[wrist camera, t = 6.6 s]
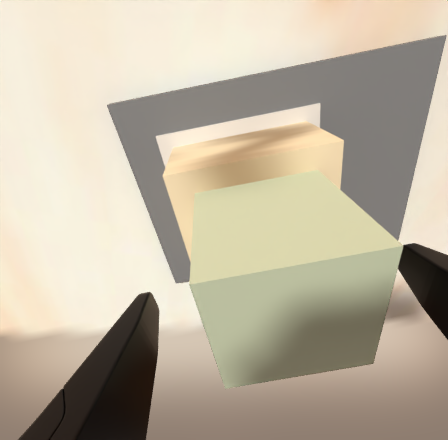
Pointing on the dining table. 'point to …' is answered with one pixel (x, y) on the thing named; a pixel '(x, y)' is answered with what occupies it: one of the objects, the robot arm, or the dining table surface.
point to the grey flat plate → (289, 114)
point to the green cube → (289, 278)
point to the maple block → (247, 164)
